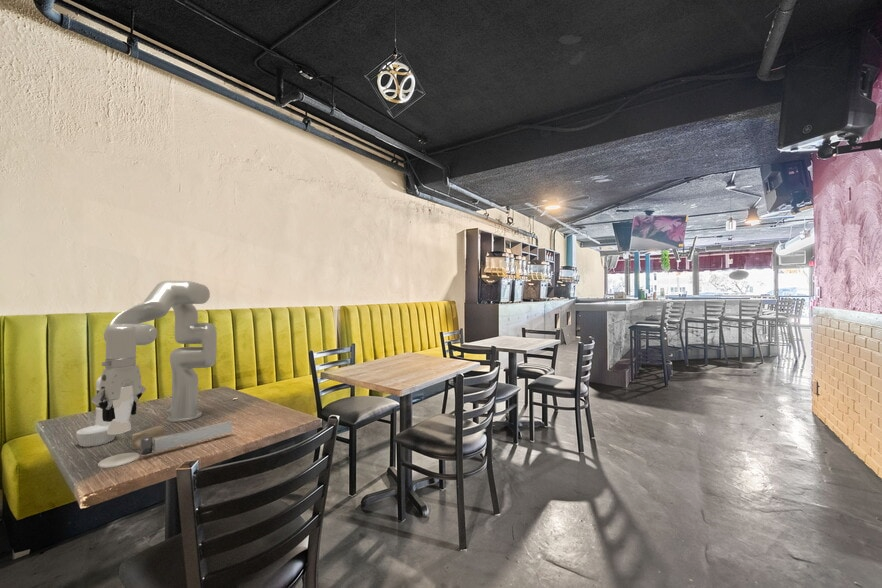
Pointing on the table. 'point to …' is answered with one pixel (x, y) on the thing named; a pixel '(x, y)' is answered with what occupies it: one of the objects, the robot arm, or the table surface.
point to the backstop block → (147, 435)
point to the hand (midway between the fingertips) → (119, 417)
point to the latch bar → (184, 437)
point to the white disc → (118, 460)
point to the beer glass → (122, 412)
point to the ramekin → (94, 435)
